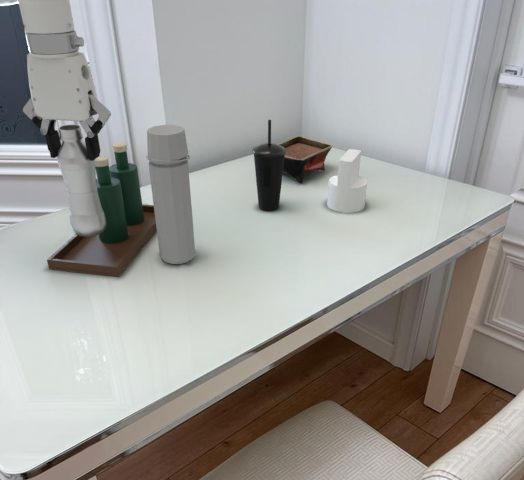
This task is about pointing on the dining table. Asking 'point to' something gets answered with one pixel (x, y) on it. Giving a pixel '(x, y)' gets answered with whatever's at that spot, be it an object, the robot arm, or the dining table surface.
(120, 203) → the green bottle
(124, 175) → the green bottle
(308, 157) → the rectangular planter
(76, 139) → the silver metal bottle
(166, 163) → the water bottle
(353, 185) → the base with upright slab
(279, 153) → the drinking cup
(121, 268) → the tray
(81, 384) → the dining table surface
